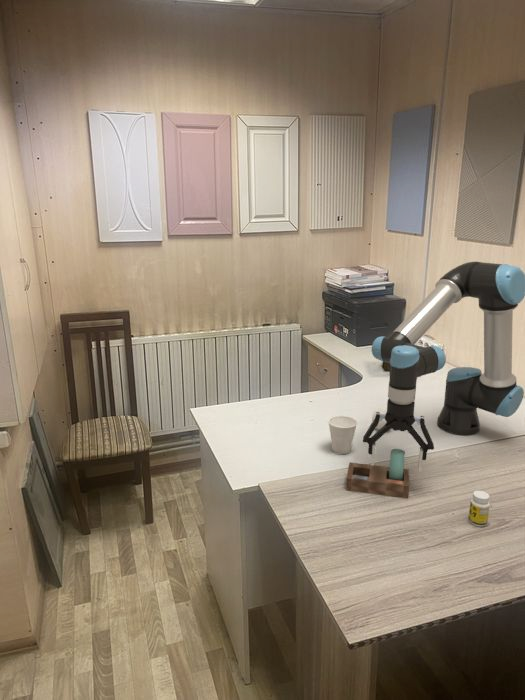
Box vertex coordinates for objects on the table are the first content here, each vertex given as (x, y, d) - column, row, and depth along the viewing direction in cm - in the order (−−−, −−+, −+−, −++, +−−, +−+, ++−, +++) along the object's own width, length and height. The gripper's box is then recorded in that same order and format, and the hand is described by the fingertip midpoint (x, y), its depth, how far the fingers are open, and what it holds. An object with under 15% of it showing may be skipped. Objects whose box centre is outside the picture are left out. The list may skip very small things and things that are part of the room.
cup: (358, 446, 182) (359, 417, 178) (353, 459, 173) (354, 429, 169) (330, 442, 185) (331, 413, 182) (324, 454, 176) (325, 425, 173)
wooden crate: (399, 372, 259) (400, 359, 257) (384, 372, 259) (385, 358, 257) (396, 368, 266) (397, 354, 264) (382, 367, 266) (383, 354, 264)
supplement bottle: (465, 516, 142) (468, 489, 139) (481, 516, 142) (485, 489, 140) (473, 527, 137) (477, 499, 135) (490, 526, 137) (494, 499, 135)
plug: (401, 485, 157) (404, 449, 154) (401, 492, 153) (404, 456, 150) (388, 483, 158) (390, 448, 155) (387, 490, 154) (390, 454, 151)
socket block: (407, 480, 159) (408, 468, 158) (408, 498, 150) (409, 485, 149) (349, 473, 164) (349, 461, 163) (345, 490, 154) (346, 477, 153)
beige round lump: (392, 434, 191) (394, 415, 188) (371, 432, 192) (372, 413, 190) (391, 425, 198) (393, 406, 196) (371, 423, 200) (372, 405, 197)
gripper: (445, 398, 148) (438, 465, 154) (358, 391, 154) (354, 455, 160) (448, 408, 141) (440, 477, 147) (356, 400, 147) (352, 467, 153)
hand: (395, 466), depth 154 cm, fingers open, 13 cm apart
